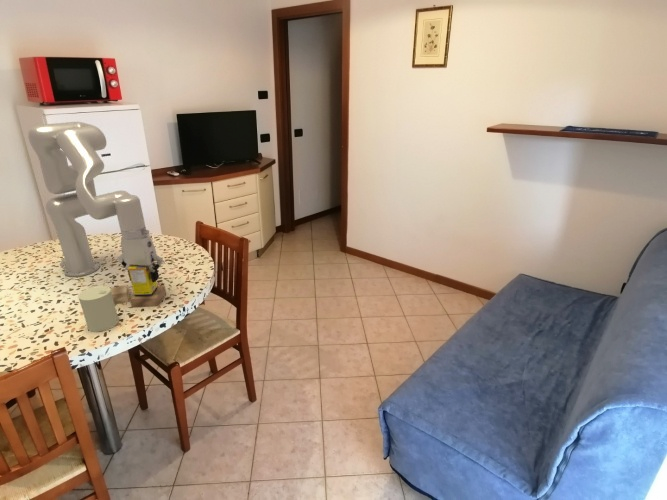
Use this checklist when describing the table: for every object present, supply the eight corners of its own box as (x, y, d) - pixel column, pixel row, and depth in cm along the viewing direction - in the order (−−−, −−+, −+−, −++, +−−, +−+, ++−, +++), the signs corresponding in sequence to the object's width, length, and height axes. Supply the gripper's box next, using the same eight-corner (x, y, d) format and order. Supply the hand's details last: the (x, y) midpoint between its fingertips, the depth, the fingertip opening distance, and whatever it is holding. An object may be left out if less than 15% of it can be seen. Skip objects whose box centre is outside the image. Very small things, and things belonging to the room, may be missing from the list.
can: (112, 331, 128) (103, 297, 123) (81, 332, 128) (71, 299, 123) (123, 315, 137) (115, 283, 132) (95, 316, 136) (85, 285, 131)
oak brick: (109, 305, 143) (107, 295, 141) (111, 297, 148) (109, 287, 146) (128, 302, 145) (126, 292, 143) (129, 294, 150) (127, 284, 148)
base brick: (132, 309, 141) (129, 299, 140) (141, 296, 150) (139, 286, 148) (158, 308, 142) (156, 298, 140) (166, 295, 150) (164, 285, 149)
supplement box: (158, 288, 147) (152, 260, 143) (151, 296, 142) (145, 267, 137) (141, 288, 147) (135, 260, 143) (134, 296, 141) (127, 268, 137)
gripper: (164, 230, 137) (173, 276, 144) (117, 227, 140) (128, 273, 147) (151, 238, 130) (161, 286, 137) (102, 235, 133) (115, 283, 140)
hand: (144, 279), depth 142 cm, fingers open, 7 cm apart
